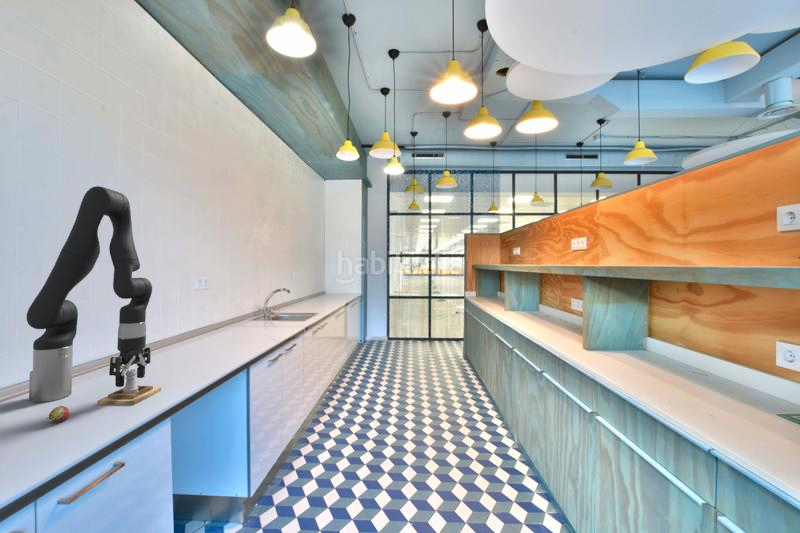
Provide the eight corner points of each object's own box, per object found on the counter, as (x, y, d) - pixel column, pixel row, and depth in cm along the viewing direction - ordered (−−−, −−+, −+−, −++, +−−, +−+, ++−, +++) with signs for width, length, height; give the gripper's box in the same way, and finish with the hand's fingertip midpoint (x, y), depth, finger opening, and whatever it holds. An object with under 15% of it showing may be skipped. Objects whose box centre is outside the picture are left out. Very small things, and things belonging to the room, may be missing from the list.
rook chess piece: (124, 392, 112) (125, 369, 112) (140, 390, 114) (141, 367, 114) (119, 396, 108) (120, 373, 108) (136, 395, 110) (136, 371, 110)
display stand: (97, 404, 105) (97, 396, 105) (128, 390, 117) (128, 383, 117) (134, 404, 105) (134, 397, 105) (161, 390, 117) (161, 384, 117)
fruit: (74, 415, 97) (74, 399, 97) (64, 424, 91) (65, 407, 91) (55, 418, 95) (55, 401, 95) (44, 427, 90) (44, 409, 90)
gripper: (138, 330, 118) (136, 374, 118) (102, 339, 104) (100, 389, 104) (158, 331, 118) (157, 375, 118) (125, 340, 104) (123, 390, 104)
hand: (130, 381), depth 111 cm, fingers open, 8 cm apart
